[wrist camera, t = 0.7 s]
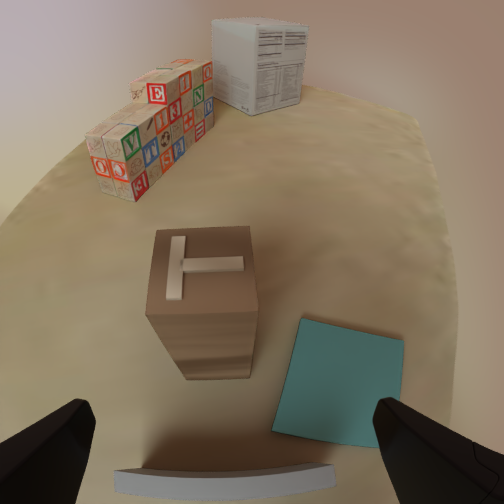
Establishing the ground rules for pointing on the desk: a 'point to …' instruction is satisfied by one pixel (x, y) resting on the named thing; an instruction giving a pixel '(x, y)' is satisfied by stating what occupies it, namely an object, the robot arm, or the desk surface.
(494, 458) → the robot arm
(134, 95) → the stack of blocks
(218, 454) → the desk surface
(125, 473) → the screen
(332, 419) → the mat
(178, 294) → the letter block
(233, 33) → the supplement box
